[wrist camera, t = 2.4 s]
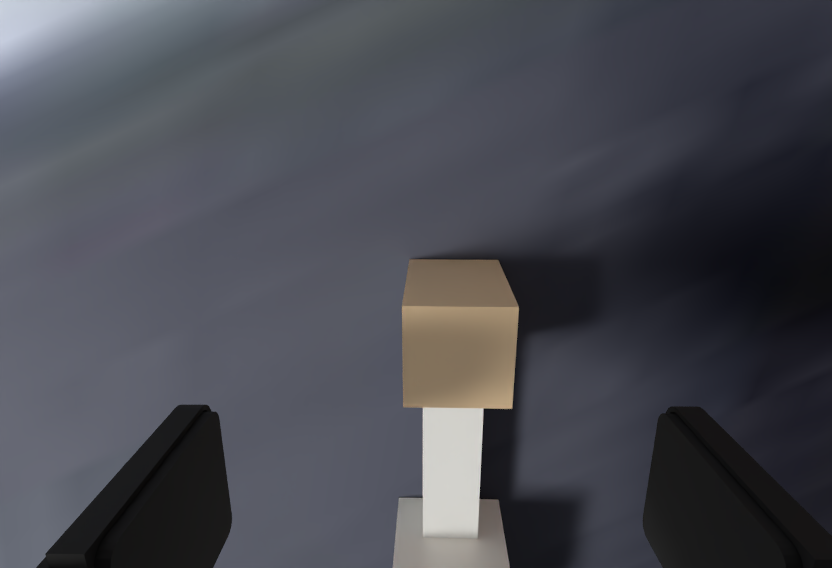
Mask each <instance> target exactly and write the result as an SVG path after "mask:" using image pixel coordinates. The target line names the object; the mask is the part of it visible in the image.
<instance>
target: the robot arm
mask: <svg viewBox="0 0 832 568" xmlns="http://www.w3.org/2000/svg"><path fill="white" fill-rule="evenodd" d="M231 523H232V513H231V505H230V498H229V490H228V482H227V475H226V467H225V459H224V452H223V444H222V436H221V429H220V421H219V416H218V414H217V412H211V409H210V408H209V406H208V405H178V406H177V407H176V408H175V409H174V410H173V411H172V412H171V414H170V415H169V416H168V417H167V418H166V419H165V420H164V421H163V423H162V424H161V425H160V426H159V427H158V428H157V429H156V430H155V432H154V433H153V434H152V435H151V436H150V437H149V438H148V439H147V441H146V442H145V443H144V444H143V445H142V446H141V447H140V448H139V449H138V451H137V452H136V453H135V454H134V455H133V456H132V457H131V458H130V460H129V461H128V462H127V463H126V464H125V465H124V466H123V467H122V469H121V470H120V471H119V472H118V473H117V474H116V475H115V476H114V478H113V479H112V480H111V481H110V482H109V483H108V484H107V485H106V487H105V488H104V489H103V490H102V491H101V492H100V493H99V494H98V495H97V497H96V498H95V499H94V500H93V501H92V502H91V503H90V504H89V506H88V507H87V508H86V509H85V510H84V511H83V512H82V513H81V515H80V516H79V517H78V518H77V519H76V520H75V521H74V522H73V524H72V525H71V526H70V527H69V528H68V529H67V530H66V531H65V533H64V534H63V535H62V536H61V537H60V538H59V539H58V540H57V542H56V543H55V544H54V545H53V546H52V547H51V548H50V549H49V550H48V552H47V553H46V554H45V555H46V557H45V558H44V560H43V561H42V562H41V563H40V564H39V565H38V566H37V567H36V568H213V567H214V564H215V562H216V560H217V558H218V556H219V554H220V552H221V550H222V548H223V546H224V544H225V542H226V539H227V537H228V535H229V533H230V529H231ZM643 528H644V532H645V535H646V537H647V540H648V541H649V543H650V545H651V547H652V549H653V550H654V552H655V554H656V556H657V558H658V559H659V561H660V563H661V565H662V567H663V568H832V536H831V535H830V534H829V533H828V532H827V531H826V530H825V529H824V528H823V527H822V526H821V525H820V524H819V523H818V522H817V521H816V520H815V519H814V518H813V517H812V516H811V515H810V514H809V513H808V512H807V511H806V510H805V509H804V508H803V507H802V506H801V505H800V504H798V503H797V502H796V501H795V500H794V499H793V498H792V497H791V496H790V495H789V494H788V493H787V492H786V491H785V490H784V489H783V488H782V487H781V486H780V485H779V484H778V483H777V482H776V481H775V480H774V479H773V478H772V477H771V476H770V475H769V474H768V473H767V472H766V471H765V470H764V469H763V468H762V467H761V466H760V465H759V464H758V463H757V462H756V461H755V460H754V459H753V458H752V457H751V456H750V455H749V454H748V453H747V452H746V451H745V450H744V449H743V448H742V447H741V446H740V445H739V444H738V443H737V442H736V441H735V440H734V439H733V438H732V437H731V436H730V435H729V434H728V433H727V432H726V431H725V430H724V429H723V428H722V427H721V426H720V425H719V424H718V423H717V422H716V421H715V420H713V419H712V418H711V417H710V416H709V415H708V414H707V413H706V412H705V411H704V410H703V409H702V408H700V407H670V408H668V410H667V411H666V414H661V415H660V416H659V418H658V423H657V429H656V436H655V442H654V449H653V455H652V462H651V468H650V475H649V481H648V488H647V494H646V501H645V507H644V514H643Z"/></svg>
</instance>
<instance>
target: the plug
mask: <svg viewBox="0 0 832 568" xmlns="http://www.w3.org/2000/svg"><path fill="white" fill-rule="evenodd" d="M518 315H519V306H518V304H517V301H516V299H515V297H514V295H513V292H512V290H511V288H510V286H509V283H508V281H507V279H506V276H505V274H504V272H503V270H502V267H501V265H500V263H499V261H498V260H449V259H410V260H409V266H408V272H407V278H406V285H405V291H404V297H403V303H402V343H403V407H420V408H423V498H399V503H398V514H397V525H396V537H395V548H394V559H393V568H510V565H509V559H508V553H507V547H506V541H505V535H504V530H503V524H502V518H501V512H500V506H499V500H496V499H479V497H480V475H481V453H482V432H483V410H484V408H487V409H512V405H513V390H514V375H515V360H516V345H517V330H518Z"/></svg>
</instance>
